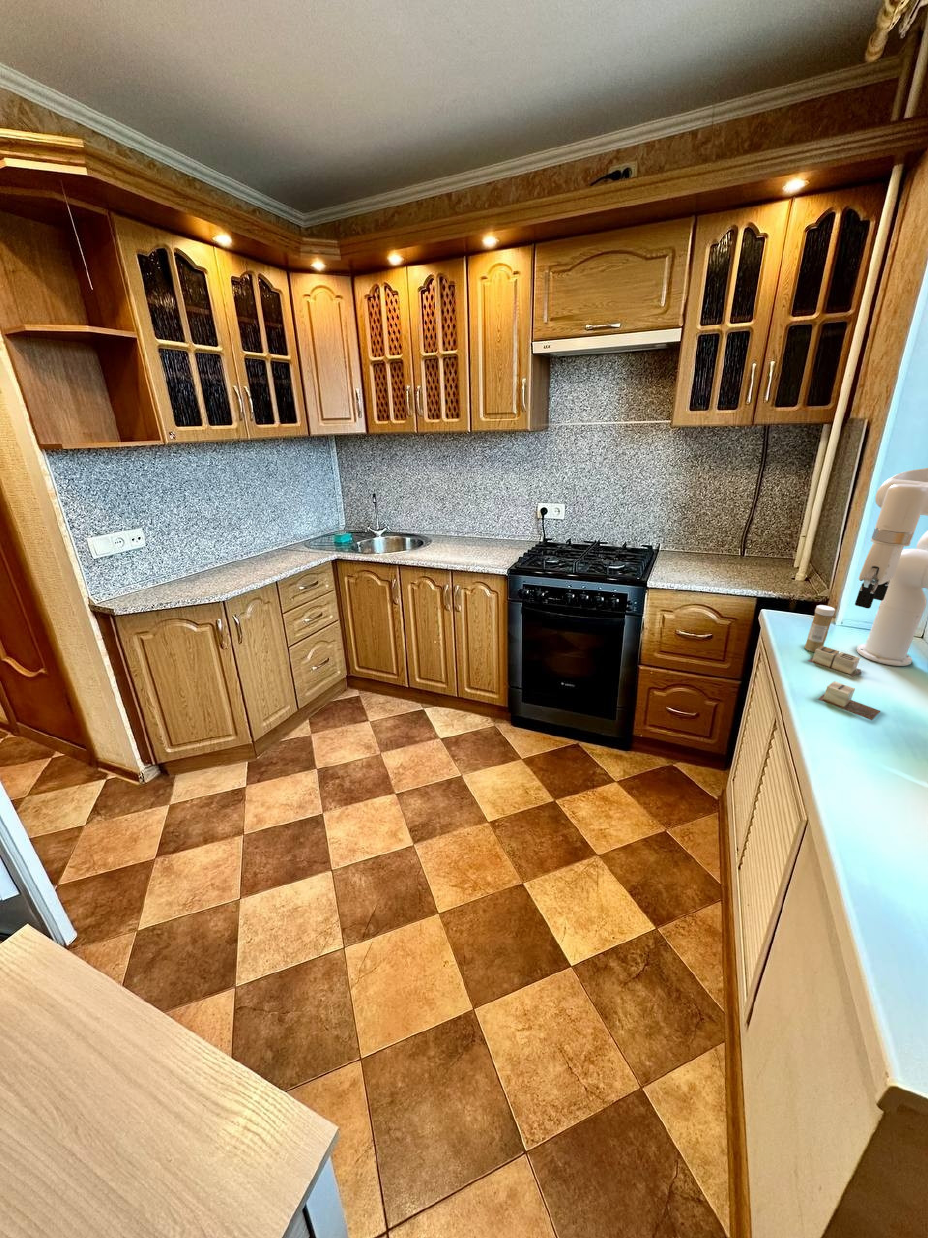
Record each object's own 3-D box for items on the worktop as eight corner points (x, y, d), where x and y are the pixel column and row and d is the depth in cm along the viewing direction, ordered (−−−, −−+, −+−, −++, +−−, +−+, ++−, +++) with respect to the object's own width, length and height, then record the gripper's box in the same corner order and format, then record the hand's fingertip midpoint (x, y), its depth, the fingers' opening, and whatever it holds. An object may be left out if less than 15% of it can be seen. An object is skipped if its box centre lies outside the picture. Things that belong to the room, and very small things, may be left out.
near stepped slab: (826, 693, 127) (832, 678, 125) (880, 713, 119) (886, 697, 117) (816, 701, 123) (822, 685, 121) (870, 722, 115) (877, 705, 113)
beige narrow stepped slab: (815, 656, 146) (820, 643, 144) (860, 671, 138) (865, 657, 136) (806, 662, 142) (811, 648, 141) (852, 678, 134) (857, 664, 133)
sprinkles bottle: (824, 650, 150) (838, 608, 145) (817, 654, 148) (831, 611, 142) (808, 645, 153) (821, 603, 148) (800, 648, 151) (813, 606, 146)
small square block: (837, 663, 141) (841, 651, 139) (855, 669, 138) (860, 657, 136) (831, 667, 138) (835, 655, 137) (850, 674, 135) (854, 661, 134)
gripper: (884, 529, 131) (863, 592, 137) (860, 538, 121) (839, 605, 127) (921, 535, 125) (897, 600, 132) (899, 545, 115) (875, 614, 122)
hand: (869, 602), depth 130 cm, fingers open, 9 cm apart
